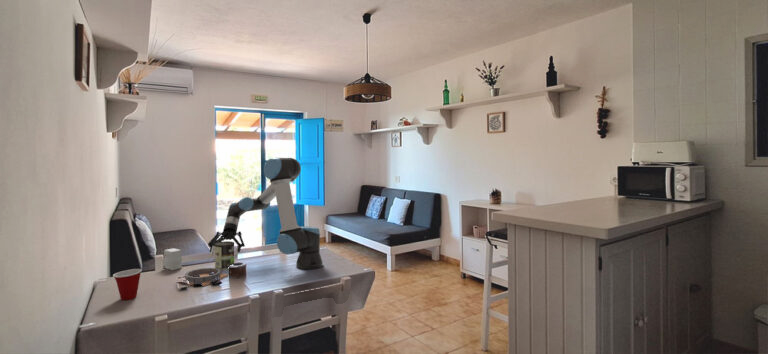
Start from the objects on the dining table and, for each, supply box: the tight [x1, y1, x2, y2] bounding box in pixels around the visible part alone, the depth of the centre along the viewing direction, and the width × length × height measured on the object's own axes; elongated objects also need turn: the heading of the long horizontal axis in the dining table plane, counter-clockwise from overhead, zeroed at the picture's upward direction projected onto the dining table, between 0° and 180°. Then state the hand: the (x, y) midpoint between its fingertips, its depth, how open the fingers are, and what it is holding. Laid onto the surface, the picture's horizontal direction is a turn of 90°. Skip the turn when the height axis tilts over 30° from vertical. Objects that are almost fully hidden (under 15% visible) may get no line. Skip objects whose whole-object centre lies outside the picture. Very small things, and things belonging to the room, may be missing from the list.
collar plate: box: [176, 267, 229, 287], centre depth 198 cm, size 17×17×4 cm
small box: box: [163, 248, 183, 271], centre depth 216 cm, size 8×6×10 cm
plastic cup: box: [112, 268, 143, 301], centre depth 171 cm, size 11×11×12 cm
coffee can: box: [214, 240, 235, 271], centre depth 219 cm, size 10×10×14 cm
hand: (223, 256), depth 217 cm, fingers open, 13 cm apart
